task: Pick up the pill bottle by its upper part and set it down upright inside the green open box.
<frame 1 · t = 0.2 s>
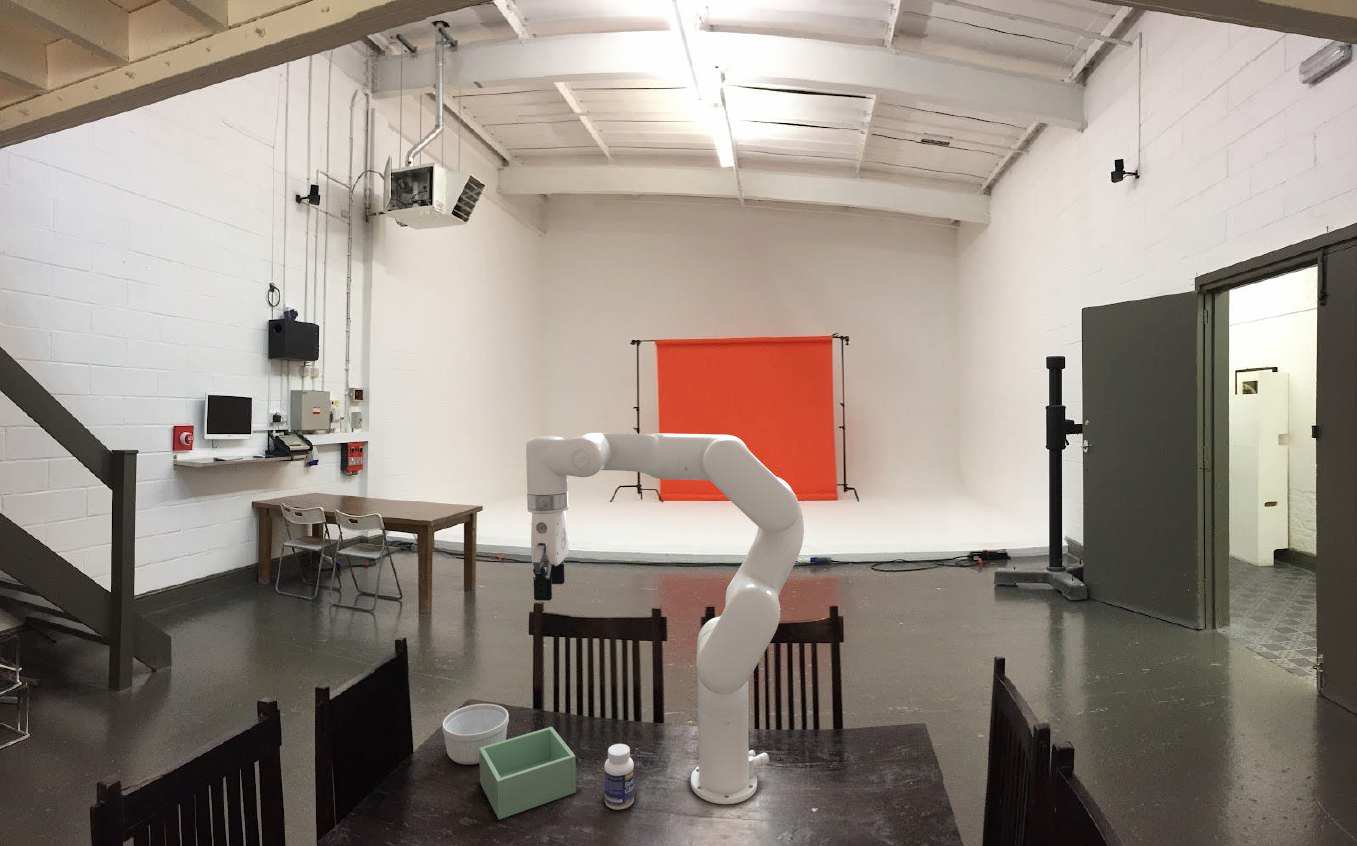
hand: (549, 591, 124), 37 cm above the table, tool pointing down, fingers open, 9 cm apart
ramekin: (476, 751, 136), on the table
green open box: (527, 787, 124), on the table
pill bottle: (619, 802, 119), on the table
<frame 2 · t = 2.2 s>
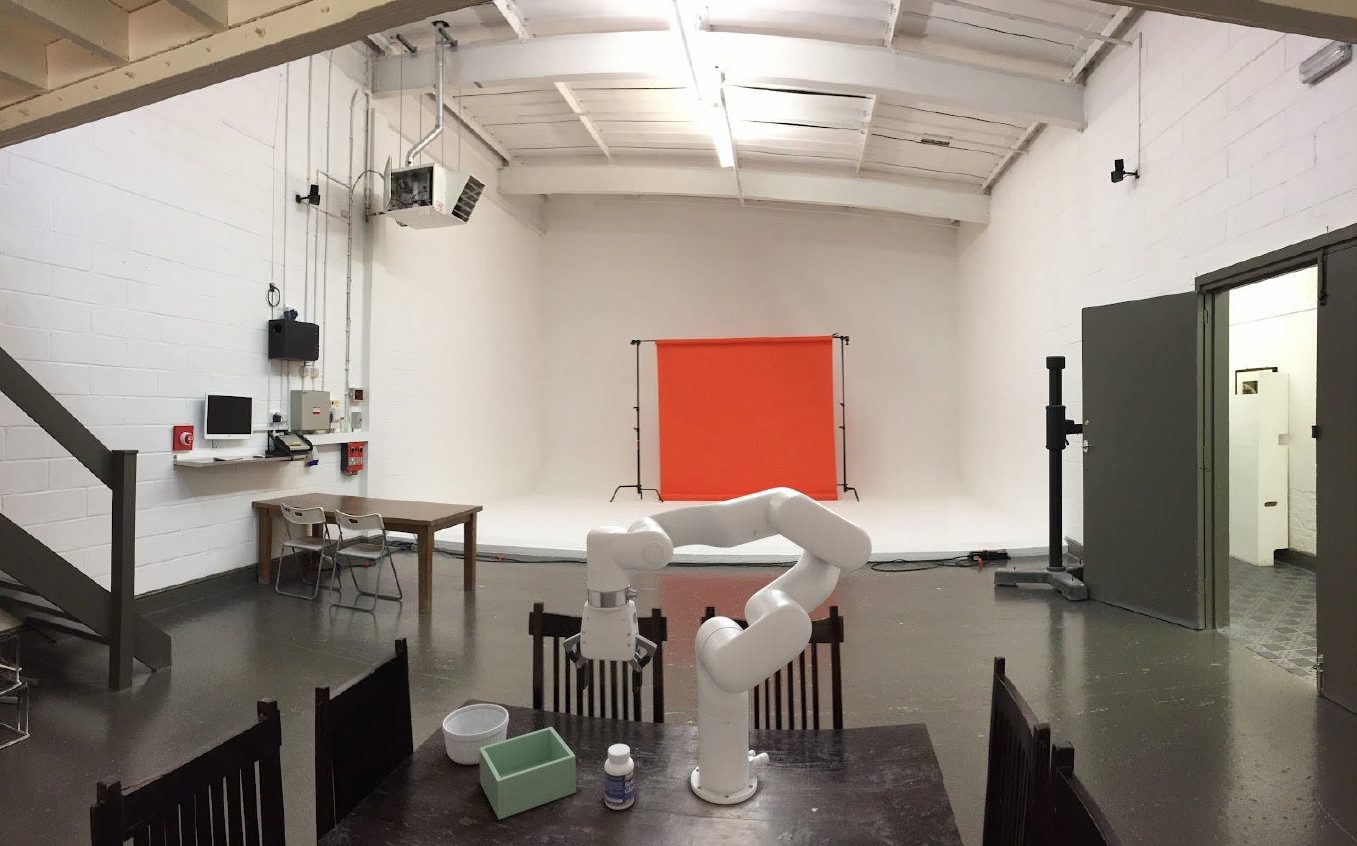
hand: (610, 688, 119), 21 cm above the table, tool pointing down, fingers open, 9 cm apart
nothing on the table moved.
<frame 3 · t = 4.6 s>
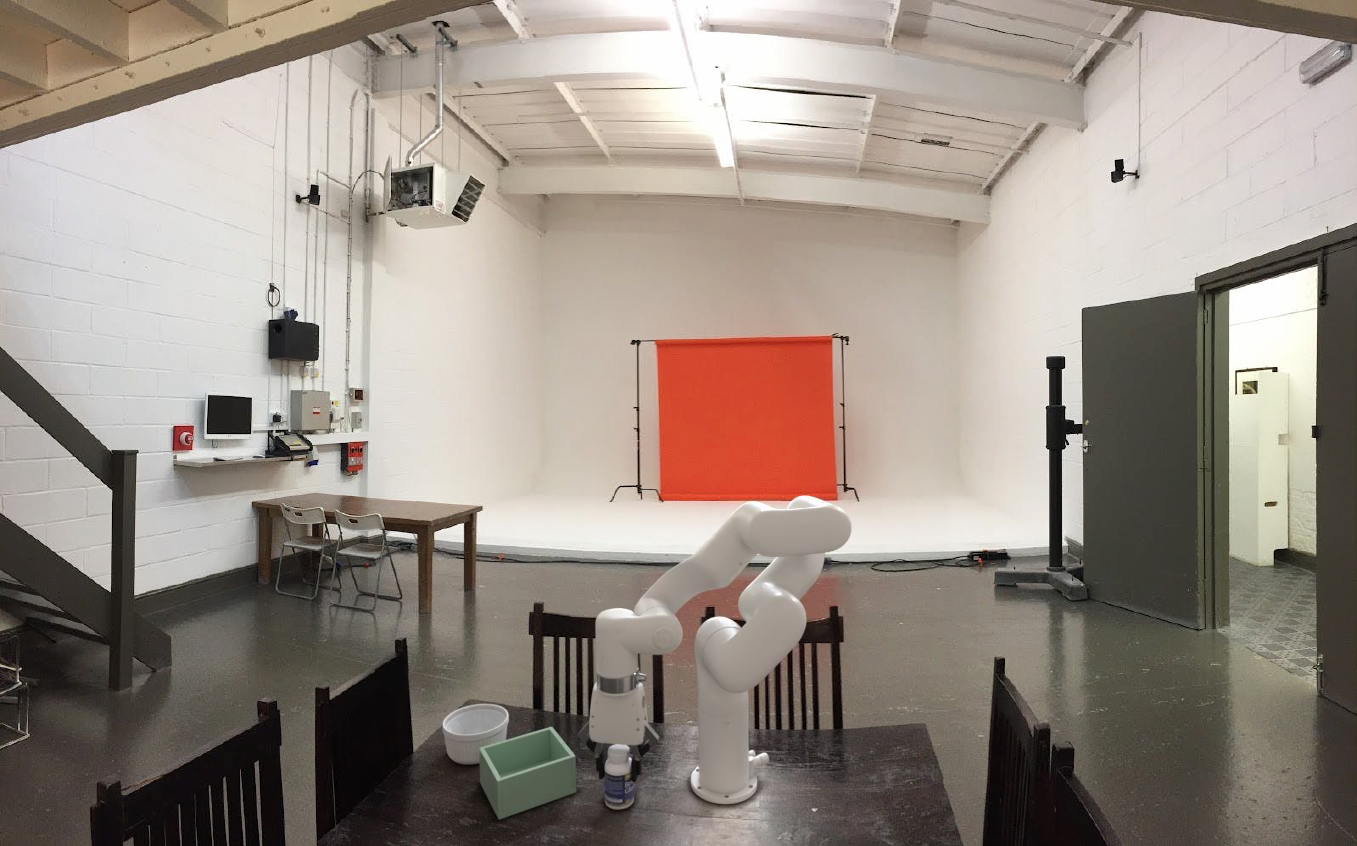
hand: (619, 775, 119), 5 cm above the table, tool pointing down, fingers closed on pill bottle, 5 cm apart
pill bottle: (619, 802, 119), on the table, touching gripper
everything else where it was.
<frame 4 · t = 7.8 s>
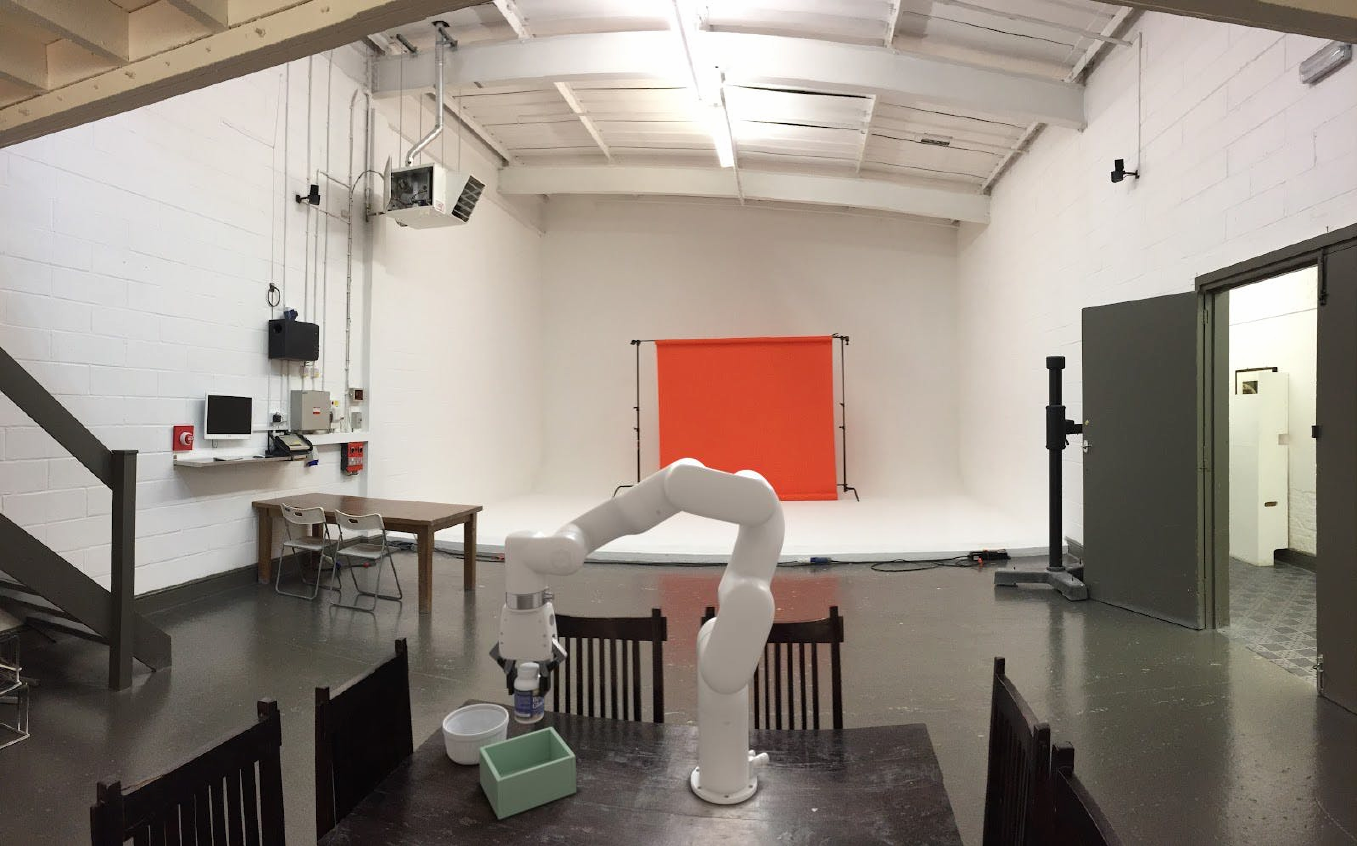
hand: (528, 692, 122), 19 cm above the table, tool pointing down, fingers closed on pill bottle, 5 cm apart
pill bottle: (529, 718, 123), point 14 cm above the table, touching gripper
everything else where it was.
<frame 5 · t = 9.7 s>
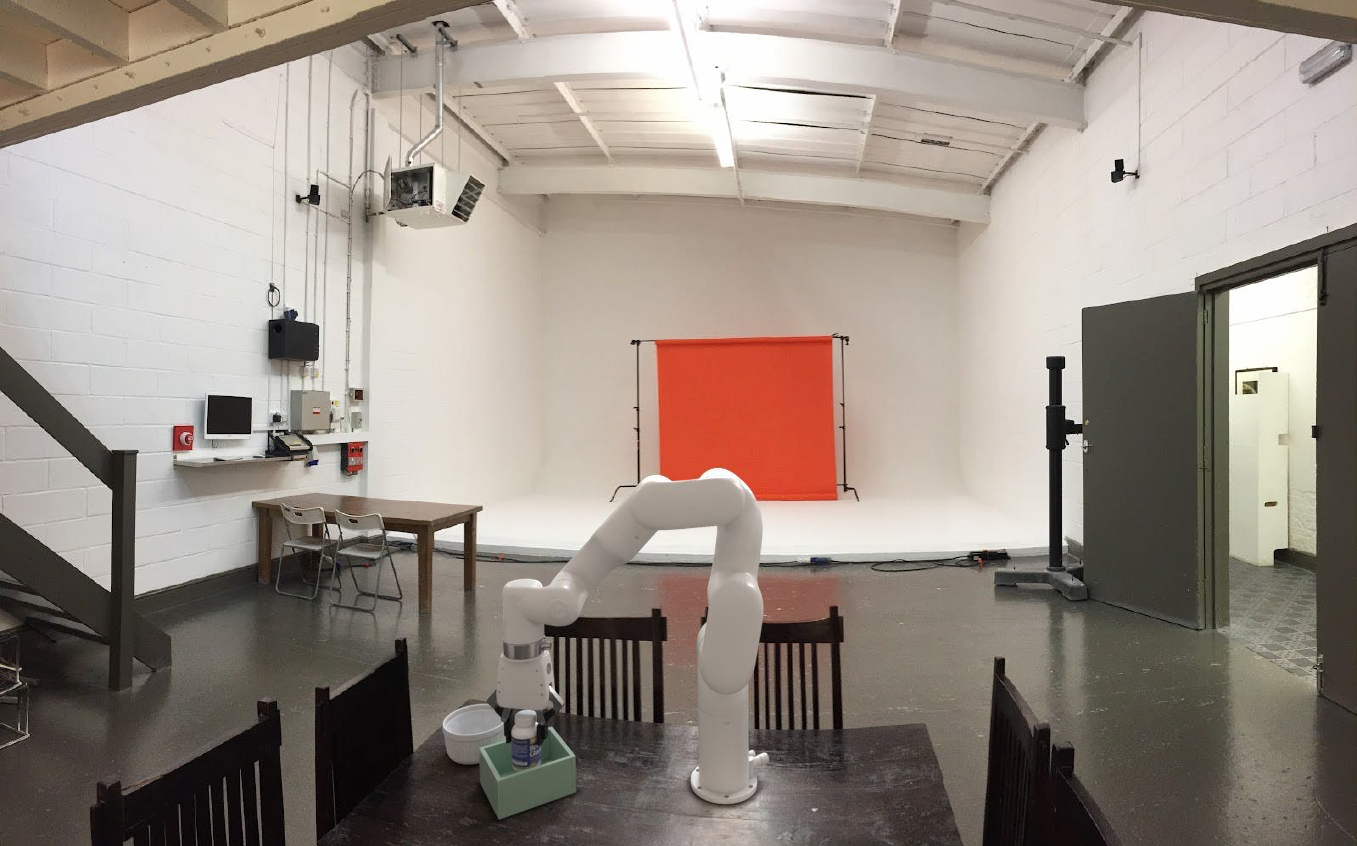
hand: (526, 739, 123), 9 cm above the table, tool pointing down, fingers closed on pill bottle, 5 cm apart
pill bottle: (526, 765, 123), point 4 cm above the table, touching gripper
everything else where it was.
when the fingers open (6 cm above the table, at t = 11.2 s): pill bottle stays where it is, resting on green open box.
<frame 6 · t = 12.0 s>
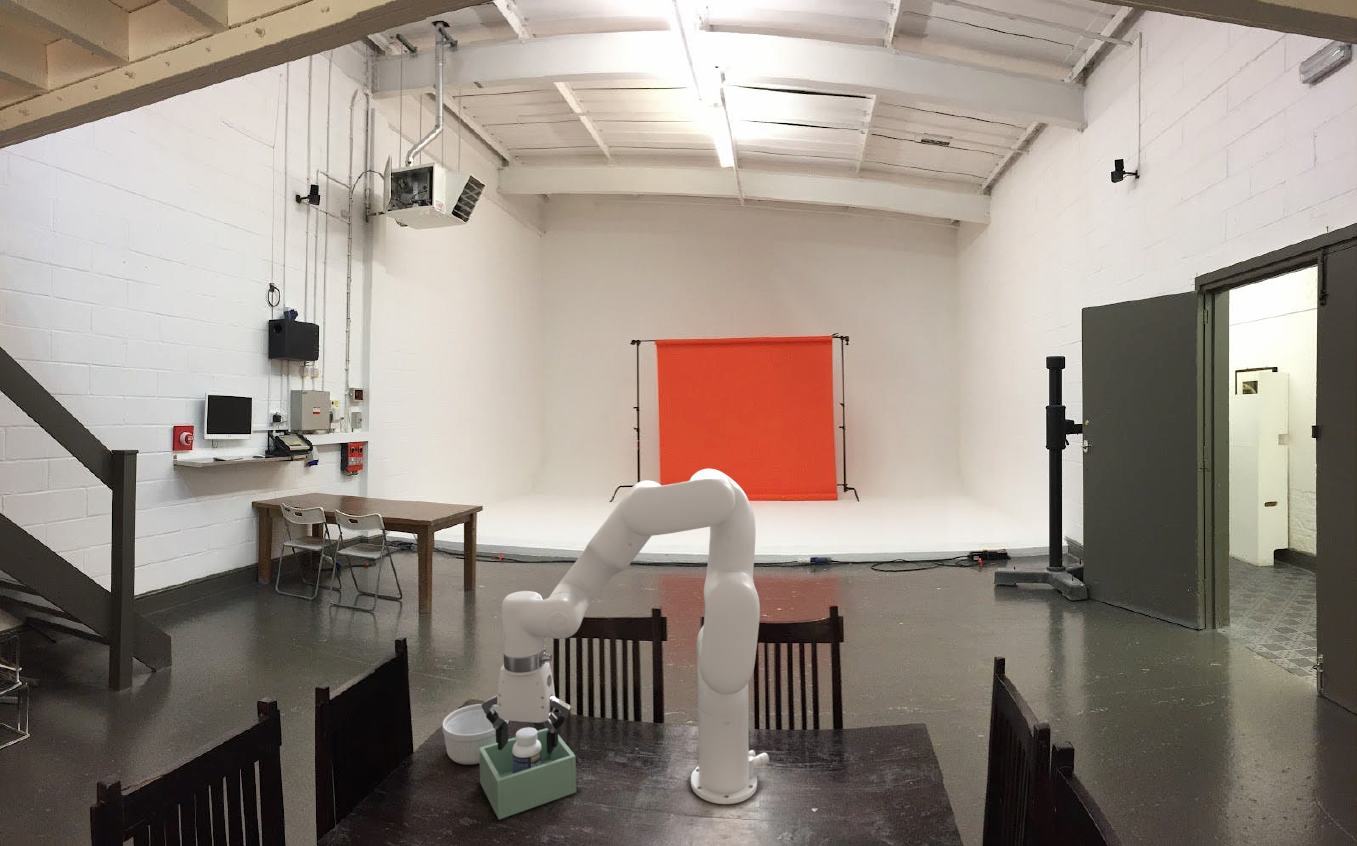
hand: (527, 747, 123), 8 cm above the table, tool pointing down, fingers open, 9 cm apart
pill bottle: (527, 783, 124), point 1 cm above the table, touching green open box
everything else where it was.
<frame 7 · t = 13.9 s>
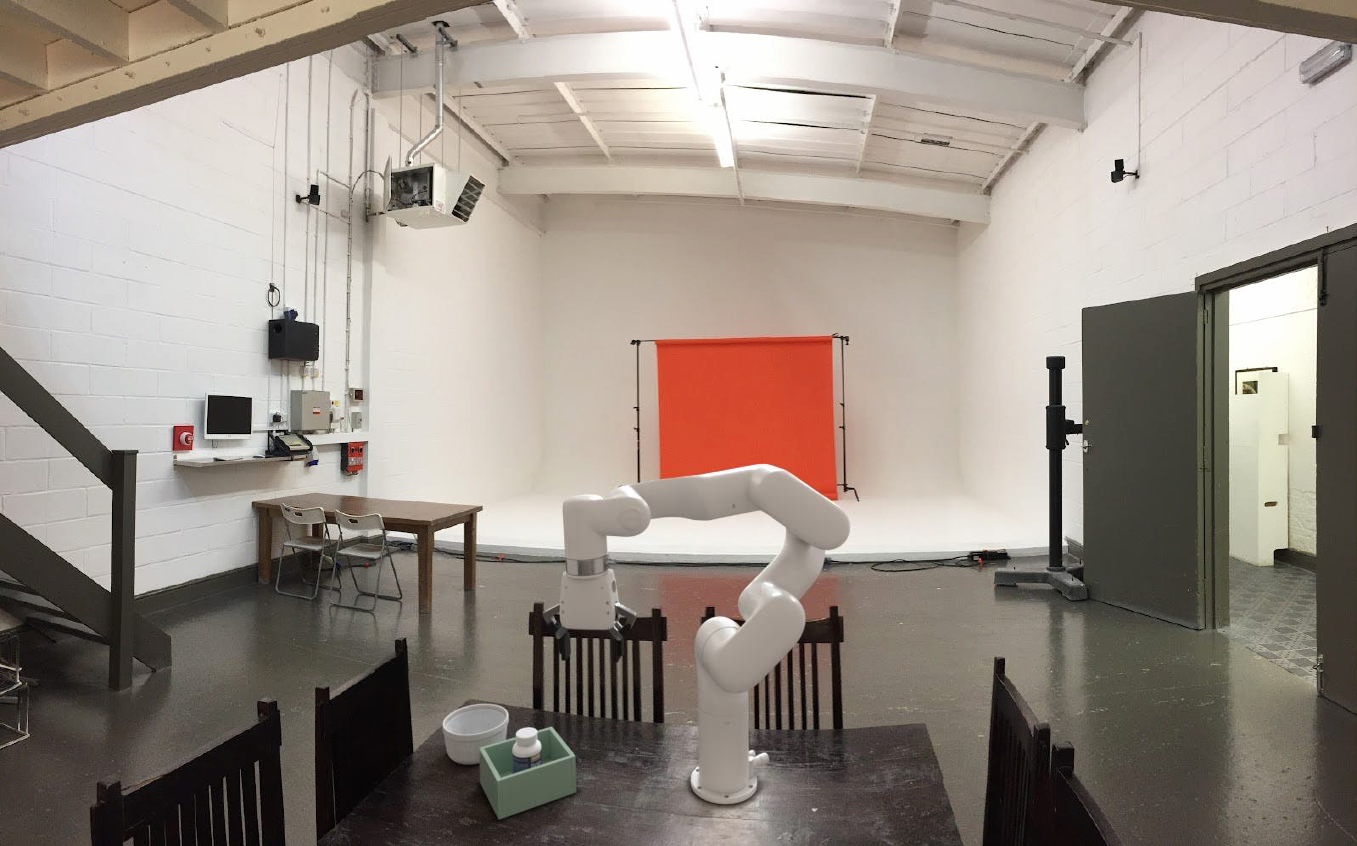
hand: (591, 658, 117), 27 cm above the table, tool pointing down, fingers open, 9 cm apart
nothing on the table moved.
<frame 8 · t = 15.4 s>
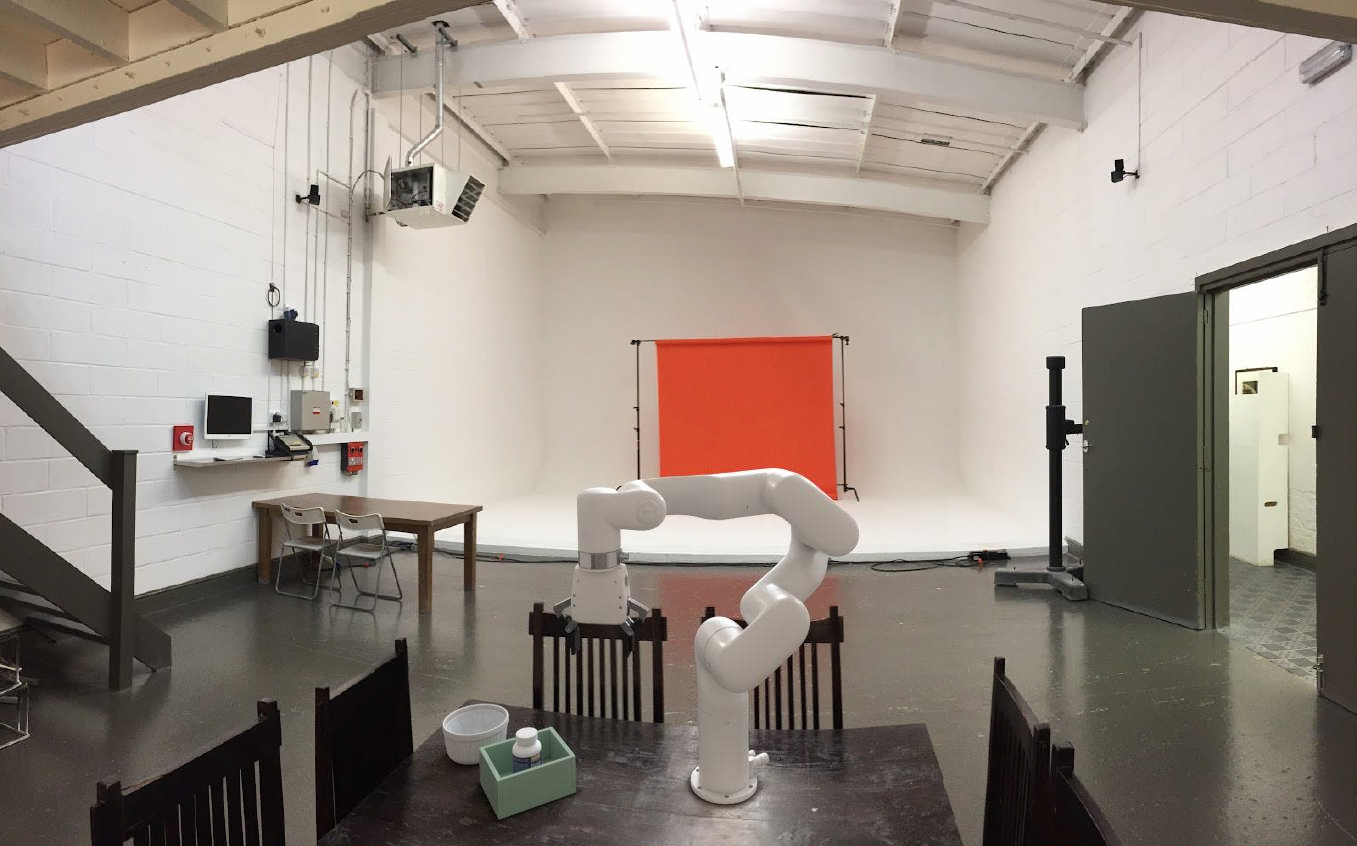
hand: (601, 653, 116), 28 cm above the table, tool pointing down, fingers open, 9 cm apart
nothing on the table moved.
at the end: pill bottle inside the target area in the green open box (0.1 cm from its centre), point 0.8 cm above the green open box's base; the gripper is holding nothing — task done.
